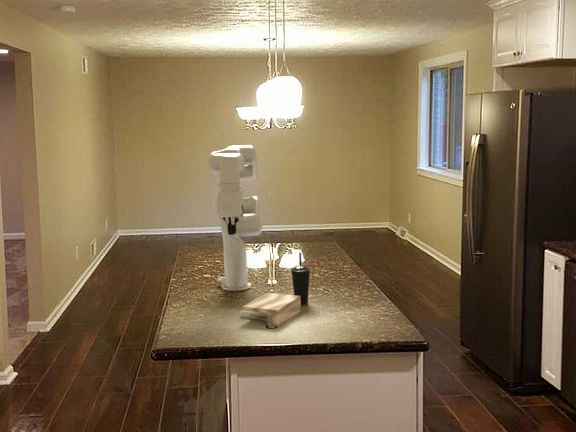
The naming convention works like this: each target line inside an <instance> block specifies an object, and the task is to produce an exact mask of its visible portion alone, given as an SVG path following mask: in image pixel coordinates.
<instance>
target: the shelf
mask: <svg viewBox="0 0 576 432" xmlns="http://www.w3.org/2000/svg"><path fill="white" fill-rule="evenodd" d="M301 307H302V305H301V298H300V296H297V295H294V294H286V293H285V294H283V293H274V292H273V293H271V292H265V293H263V294H262V295H260V296H258V297H257V298H255V299H253V300H251V301H250V302H248V303H246V304H244V305H243V306H241V311H252V312H262V313H268V317H266V316H256V315H249V318H248V319H250V320H257V321H267V326H269V327H276V328H277V327H278V328H279V327H280V326H282V325H283V324H285V323H286V322H287V321H289V320H291V319H292V318H293V317H295V316H296V315H297V314H300V312H302V311H301V310H302V308H301Z"/></svg>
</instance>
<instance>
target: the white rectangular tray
mask: <svg viewBox="0 0 576 432" xmlns="http://www.w3.org/2000/svg"><path fill="white" fill-rule="evenodd" d="M239 315H240V318H248V319H249V315H256V316H266V317H268V313H262V312H252V311H242V310H240V314H239Z"/></svg>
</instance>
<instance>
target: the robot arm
mask: <svg viewBox="0 0 576 432" xmlns="http://www.w3.org/2000/svg"><path fill="white" fill-rule="evenodd" d="M207 165H208V170H209V172H211V174H212V173H213V174H217V175H218V180H219V183H218V184H217V188H219V189H220V190H218V191H217V193H218V194H217V199H216V200H217V202H216V214H217V216H218V219H220V223H219V224H220V225H219V226H220V230H221V235H222V236H221V237H222V244H223V262H224V266H223V267H224V276H217V282H218V283H222V284H221V289H222V290H224V291H229V292H238V291H239V292H240V291H245V290H249V289H250V288H252V284H251V282H248V262H247V259H248V258H247V246H246V244H245V242H244V241H243V240H242V239H241V237H254V236H259V235H261V234H262V231H263V213H262V212H263V211H262V210H263V208H262V202H261V200H260V198H259V197H258V196H256V195H244V194H245V191H244V189H243V188H242V187H241V181H252V180H253V181H254V180H256V178H257V177H258V172H259V170H258V168H259V167H258V155H257V151H256V148H255V147H254V146H253V145H251V144H248V145H247V144H246V145H245V144H243V145H242V144H240V145H239V144H238V145H229V146H226V147H225V148H224V149H222V150H217V151H212V152H210V154H209V157H208V160H207Z"/></svg>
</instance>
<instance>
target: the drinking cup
mask: <svg viewBox="0 0 576 432" xmlns="http://www.w3.org/2000/svg"><path fill="white" fill-rule="evenodd" d="M298 254H299V255H298V257H299V265H296V266H293V267H291V268H290V272H291V278H292V279H291V280H292V287H293V295H297V296H300V298H301V306H304V305H305V306H306V305H308V304H309V303H308V302H309V291H310V287H309V286H310V277H311V276H310V274H311V268H310V267H309V266H306V265H302V252H299V253H298Z"/></svg>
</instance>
